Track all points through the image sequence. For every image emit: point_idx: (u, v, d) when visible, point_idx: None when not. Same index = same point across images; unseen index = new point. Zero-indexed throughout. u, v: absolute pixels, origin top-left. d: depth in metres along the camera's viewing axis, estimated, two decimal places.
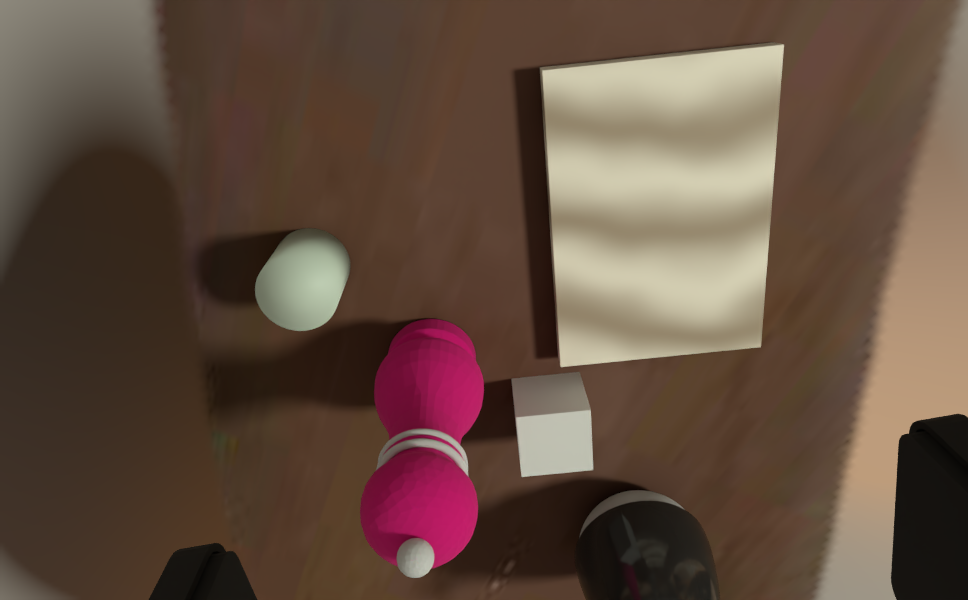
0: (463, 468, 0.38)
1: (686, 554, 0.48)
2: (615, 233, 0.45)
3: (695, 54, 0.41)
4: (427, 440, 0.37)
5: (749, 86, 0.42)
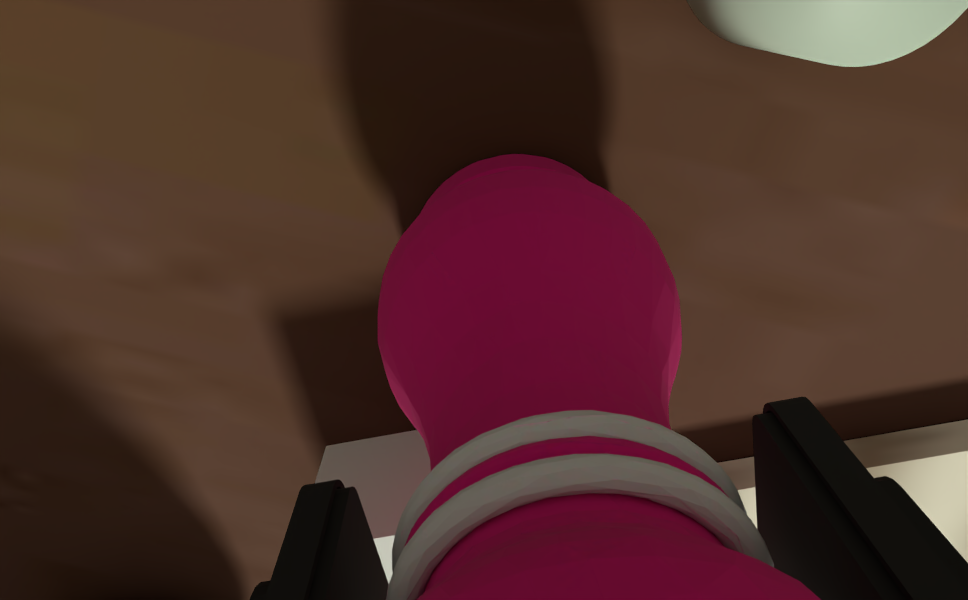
0: None
1: None
2: None
3: None
4: None
5: None
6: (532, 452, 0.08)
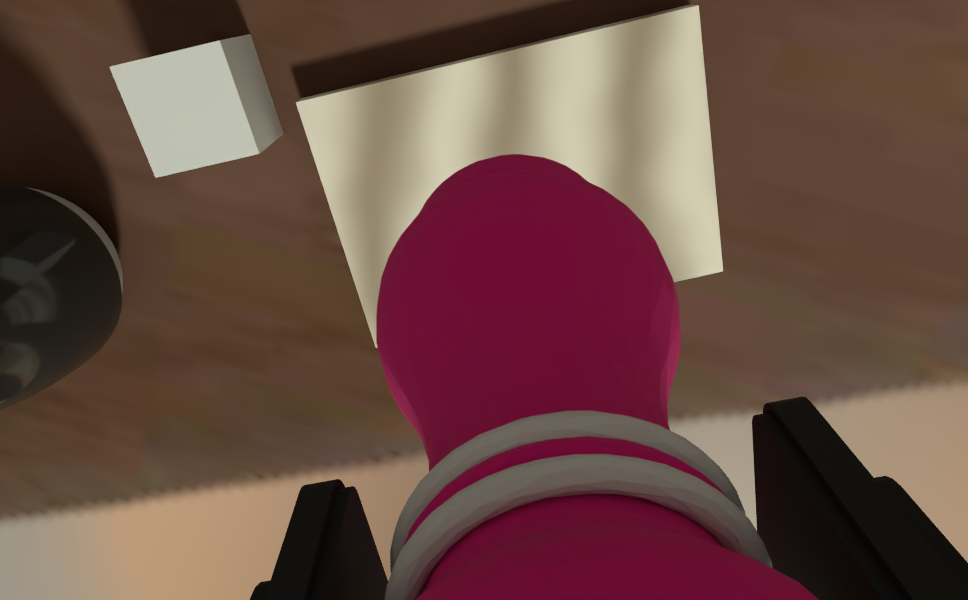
0: None
1: (67, 341, 0.32)
2: (501, 138, 0.36)
3: (713, 183, 0.37)
4: None
5: (681, 249, 0.38)
6: (530, 453, 0.08)
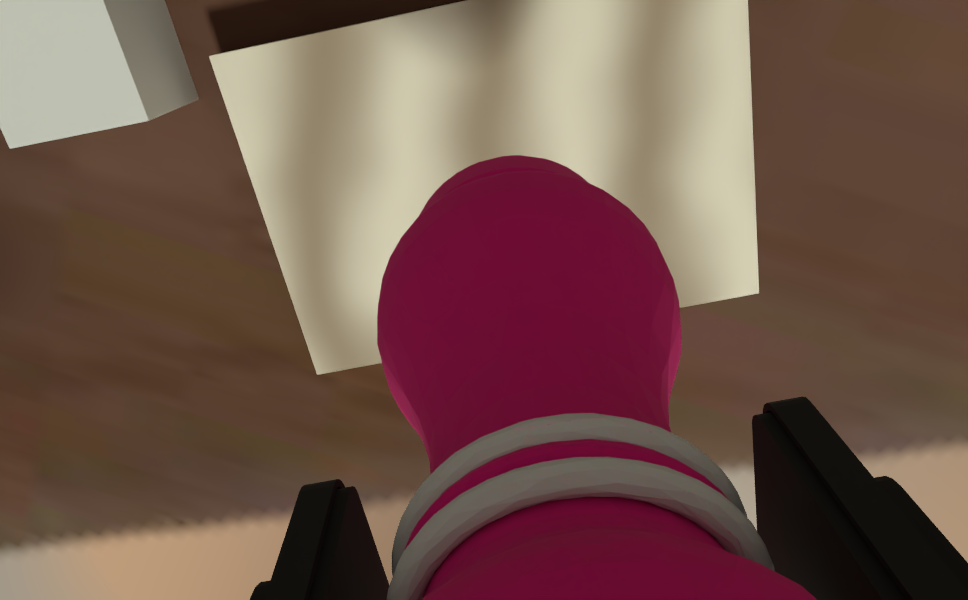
0: None
1: None
2: (479, 113, 0.27)
3: (753, 181, 0.29)
4: None
5: (706, 263, 0.30)
6: (532, 455, 0.08)
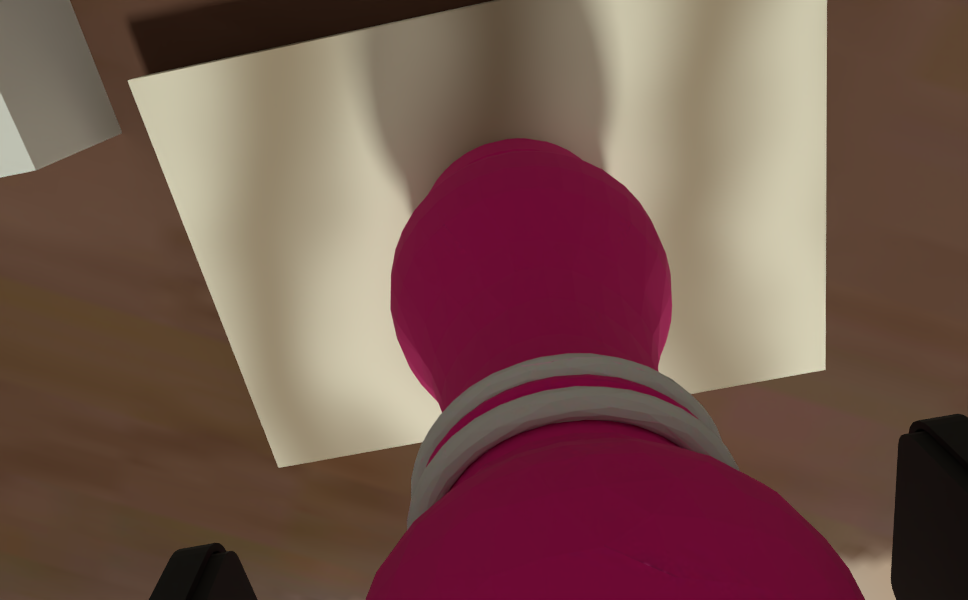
0: None
1: None
2: None
3: (823, 235, 0.23)
4: None
5: (762, 335, 0.24)
6: (538, 386, 0.10)
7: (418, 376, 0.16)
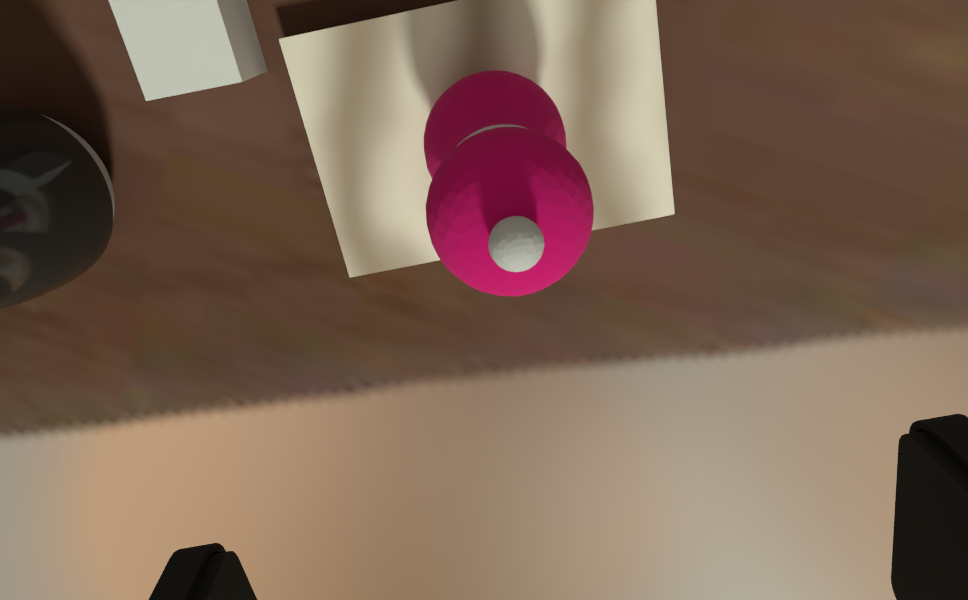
0: None
1: (61, 248, 0.35)
2: None
3: (666, 129, 0.40)
4: None
5: (635, 191, 0.41)
6: None
7: None
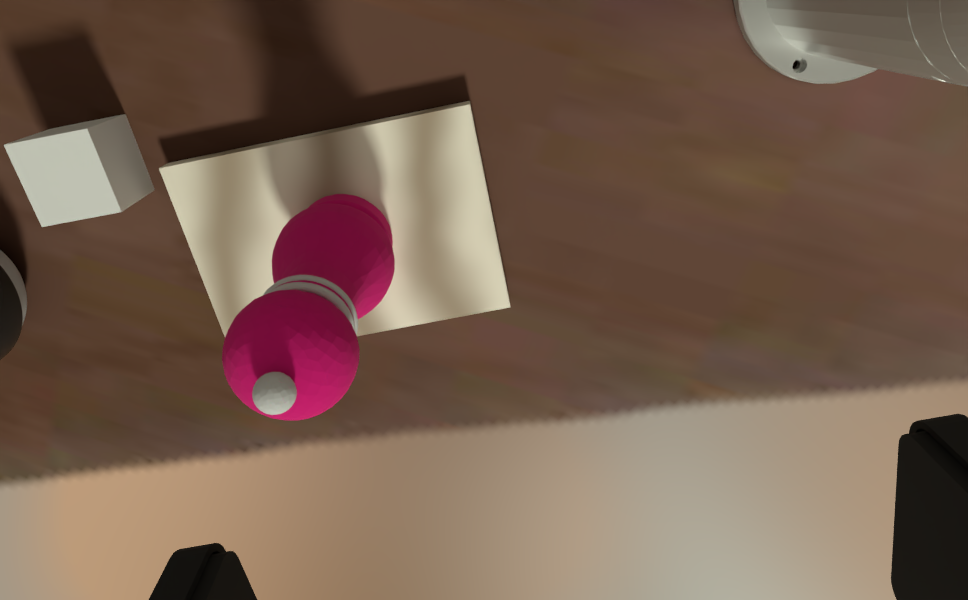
0: None
1: None
2: None
3: (496, 238, 0.47)
4: (355, 333, 0.34)
5: (474, 288, 0.48)
6: (287, 283, 0.34)
7: None
